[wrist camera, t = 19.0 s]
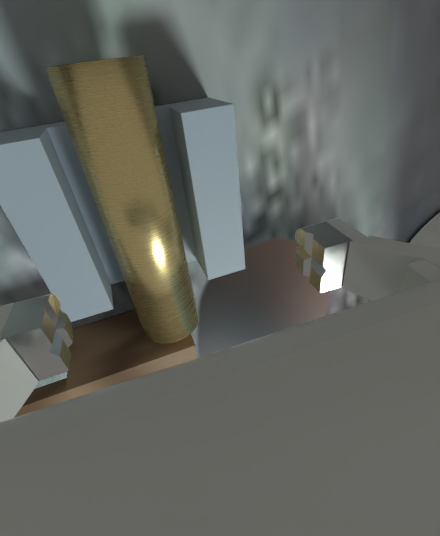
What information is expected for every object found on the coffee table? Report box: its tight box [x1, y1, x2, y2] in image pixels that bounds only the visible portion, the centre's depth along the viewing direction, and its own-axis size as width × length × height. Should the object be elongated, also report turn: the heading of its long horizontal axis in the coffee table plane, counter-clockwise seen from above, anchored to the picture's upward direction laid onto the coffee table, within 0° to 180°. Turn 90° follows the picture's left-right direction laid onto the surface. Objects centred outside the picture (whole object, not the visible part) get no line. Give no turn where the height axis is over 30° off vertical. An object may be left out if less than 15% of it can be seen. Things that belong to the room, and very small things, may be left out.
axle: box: [45, 55, 198, 344], centre depth 15 cm, size 4×14×4 cm, turn 6°
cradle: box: [0, 98, 245, 322], centre depth 16 cm, size 10×9×4 cm
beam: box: [14, 310, 198, 418], centre depth 20 cm, size 20×6×5 cm, turn 96°
